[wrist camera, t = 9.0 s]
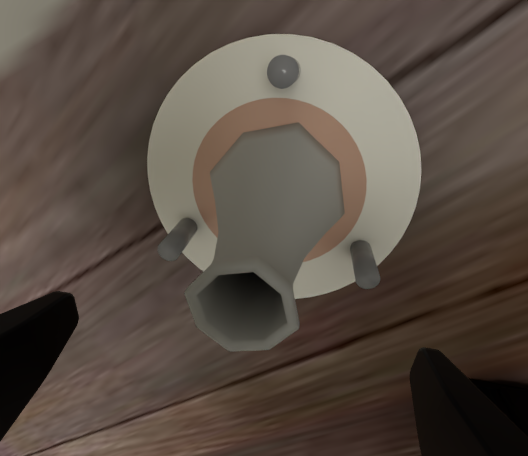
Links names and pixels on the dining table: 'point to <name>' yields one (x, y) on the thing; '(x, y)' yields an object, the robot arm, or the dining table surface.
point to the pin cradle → (277, 114)
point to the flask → (264, 234)
